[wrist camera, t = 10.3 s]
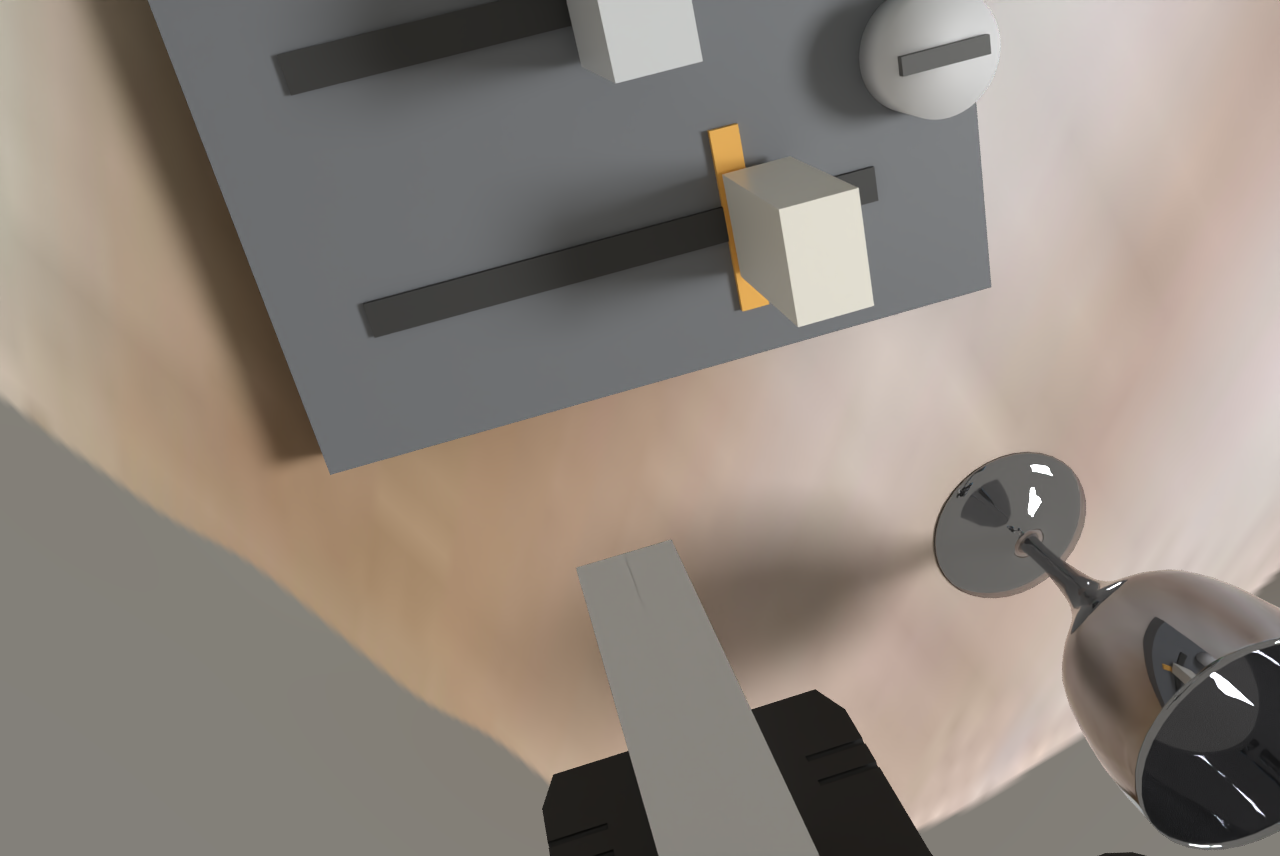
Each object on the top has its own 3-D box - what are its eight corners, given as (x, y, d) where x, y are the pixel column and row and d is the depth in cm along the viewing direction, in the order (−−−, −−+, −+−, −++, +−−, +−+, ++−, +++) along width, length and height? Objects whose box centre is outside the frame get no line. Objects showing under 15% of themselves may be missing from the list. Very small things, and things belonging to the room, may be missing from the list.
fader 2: (721, 174, 36) (778, 209, 30) (790, 156, 36) (858, 187, 31) (740, 276, 37) (798, 327, 32) (806, 258, 37) (874, 305, 32)
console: (132, -78, 32) (95, -86, 28) (916, -259, 34) (982, -289, 30) (333, 451, 39) (326, 503, 36) (965, 273, 42) (1023, 304, 38)
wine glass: (1026, 407, 45) (1297, 594, 31) (1126, 513, 48) (1411, 724, 34) (889, 541, 46) (1093, 777, 32) (996, 635, 49) (1222, 887, 36)
